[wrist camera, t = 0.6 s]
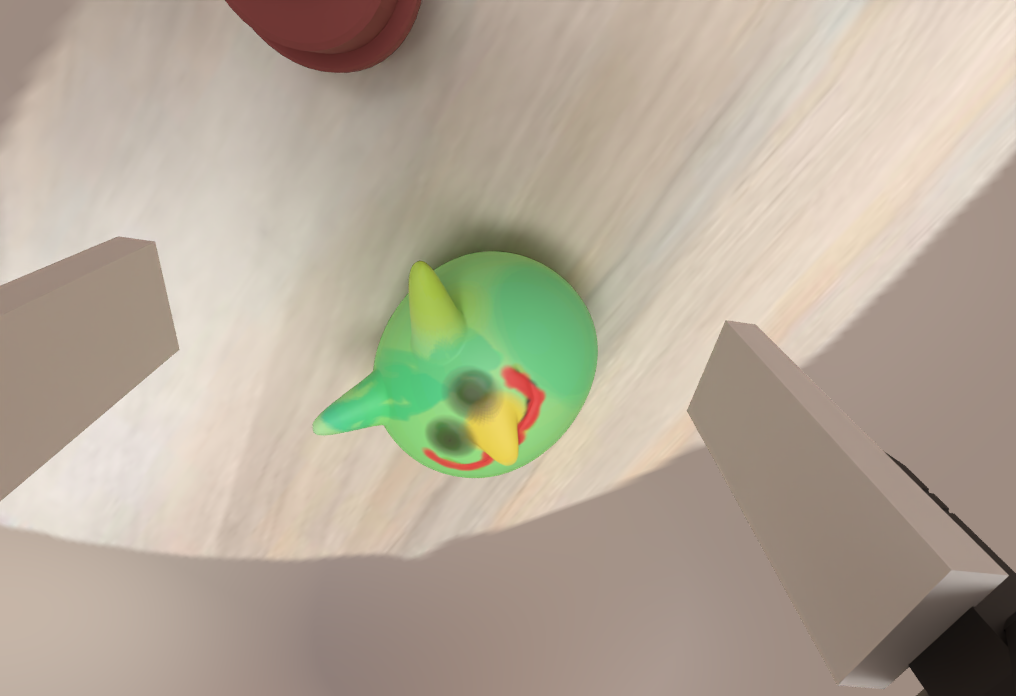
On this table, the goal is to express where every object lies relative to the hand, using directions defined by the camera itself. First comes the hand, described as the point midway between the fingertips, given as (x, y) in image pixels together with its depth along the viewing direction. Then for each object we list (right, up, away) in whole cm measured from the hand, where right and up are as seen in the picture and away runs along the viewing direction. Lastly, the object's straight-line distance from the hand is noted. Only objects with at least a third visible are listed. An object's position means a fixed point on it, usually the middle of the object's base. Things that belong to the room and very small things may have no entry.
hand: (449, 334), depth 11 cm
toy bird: (-1, +2, +31) cm, 31 cm away
